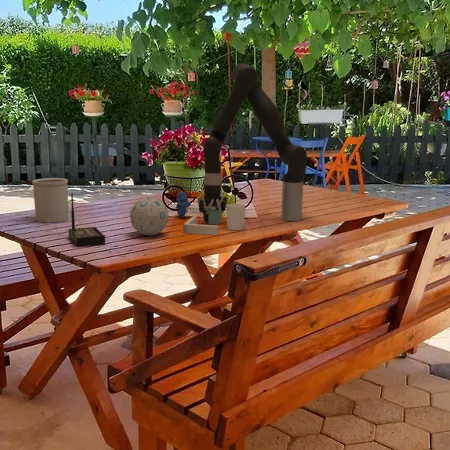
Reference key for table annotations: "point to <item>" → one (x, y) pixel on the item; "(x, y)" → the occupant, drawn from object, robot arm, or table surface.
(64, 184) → the utensil holder
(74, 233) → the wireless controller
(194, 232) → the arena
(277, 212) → the table surface
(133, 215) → the puzzle ball
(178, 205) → the grapes
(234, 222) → the white cup
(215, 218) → the teal block
